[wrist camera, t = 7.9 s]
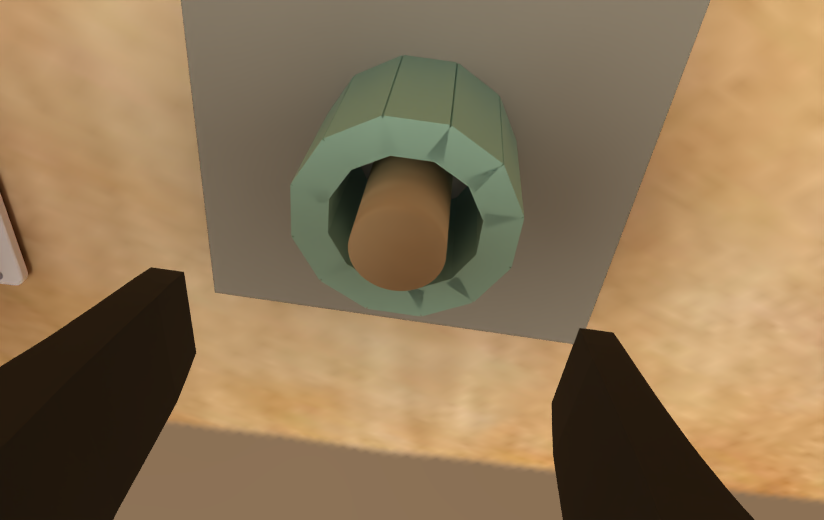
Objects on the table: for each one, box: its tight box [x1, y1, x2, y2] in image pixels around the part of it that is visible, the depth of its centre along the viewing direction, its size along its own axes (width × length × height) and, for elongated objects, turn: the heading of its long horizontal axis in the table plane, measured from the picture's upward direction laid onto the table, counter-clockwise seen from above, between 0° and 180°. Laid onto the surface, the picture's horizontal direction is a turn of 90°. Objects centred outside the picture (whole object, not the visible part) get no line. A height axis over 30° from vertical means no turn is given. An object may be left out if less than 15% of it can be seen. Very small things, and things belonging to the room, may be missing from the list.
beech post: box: [348, 156, 453, 291], centre depth 15 cm, size 2×2×5 cm
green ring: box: [290, 55, 524, 316], centre depth 16 cm, size 5×5×4 cm
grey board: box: [181, 0, 710, 344], centre depth 18 cm, size 13×13×1 cm
